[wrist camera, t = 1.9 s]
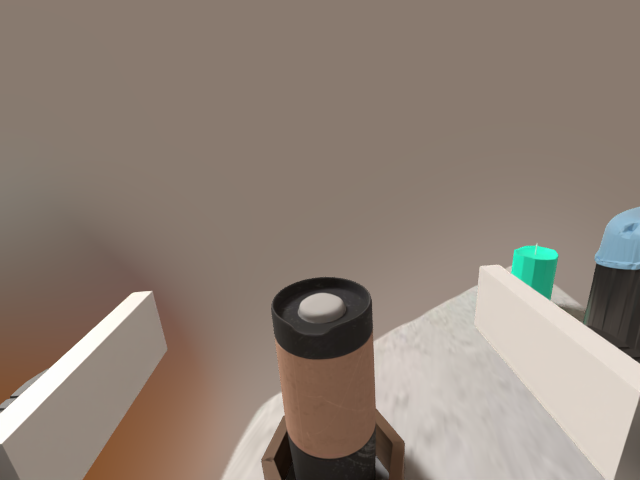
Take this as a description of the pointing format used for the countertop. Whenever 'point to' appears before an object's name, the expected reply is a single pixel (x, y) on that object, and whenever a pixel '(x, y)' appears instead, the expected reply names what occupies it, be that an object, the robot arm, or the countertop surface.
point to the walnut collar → (387, 451)
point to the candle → (536, 268)
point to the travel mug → (327, 377)
